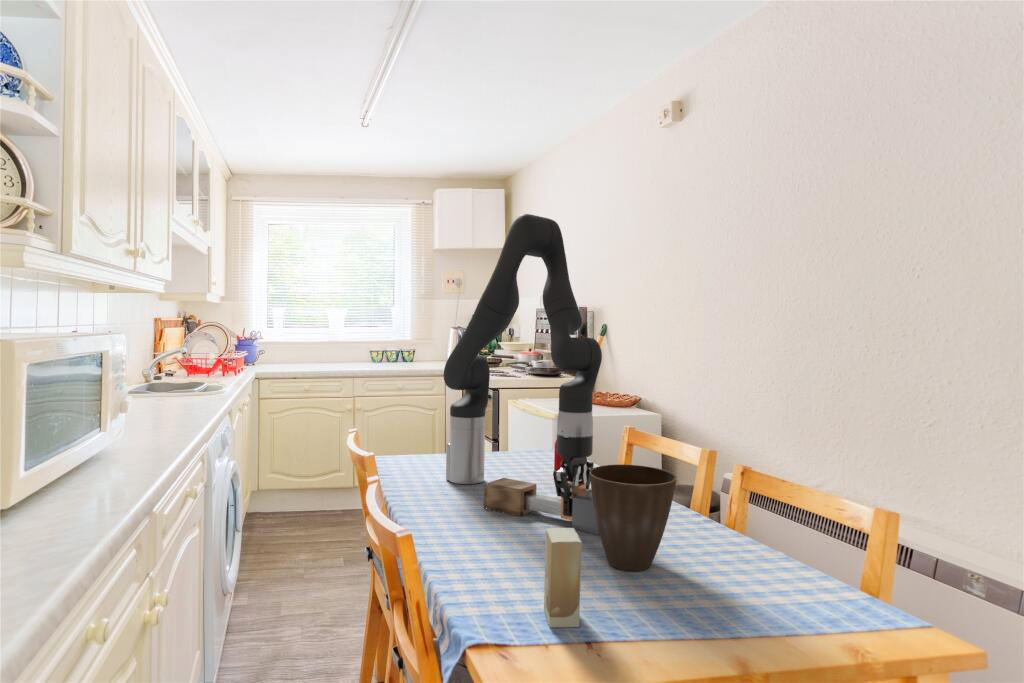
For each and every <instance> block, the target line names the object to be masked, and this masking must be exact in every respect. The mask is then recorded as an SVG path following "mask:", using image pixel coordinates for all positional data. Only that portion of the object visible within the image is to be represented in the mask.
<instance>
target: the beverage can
mask: <svg viewBox="0 0 1024 683" xmlns="http://www.w3.org/2000/svg"><path fill="white" fill-rule="evenodd" d="M553 454H554V457H553V458H554V460H553V462H554V463H553V464H554V465H553V469H554V470H553V472H554V471H559V470H560V469H561V462H562V457H561V456H560V455H558V454H557V439H556V441H555V442H554V453H553Z"/></svg>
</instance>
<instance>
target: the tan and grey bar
mask: <svg viewBox="0 0 1024 683" xmlns="http://www.w3.org/2000/svg"><path fill="white" fill-rule="evenodd" d="M568 483H573V482H570V481H568ZM561 491H562V488H561ZM569 491H570V487H569ZM584 492H587V489H586V484H582V483H578V486H577V487H576V488H575V493H574V497H575V496H577V495H580V494H582V493H584ZM524 509H529V510H534V511H533V512H540V513H544V514H549V515H554V516H558V517H560V519H564V520H568V521H572V517H569V516H564V515H563V497H559V498H558V497H554V496H548V495H543V494H542V495H541V494H537V493H536V494H533V493H527V492H524Z"/></svg>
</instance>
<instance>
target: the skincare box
mask: <svg viewBox="0 0 1024 683" xmlns="http://www.w3.org/2000/svg"><path fill="white" fill-rule="evenodd" d="M582 546H583V545H582V540H581V538H580V537H579V534H578V533H577V530H575V529H574V528H572V527H550V528H549V527H546V528H545V560H544V561H545V562H544V590H543V591H544V594H543V610H544V615H545V618H546V622H547V625H548V628H550V629H551V628H553V629H554V628H555V629H556V628H579V627H580V610H581V609H580V607H581V606H580V605H581V604H580V603H581V576H582V574H581V573H582Z"/></svg>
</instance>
